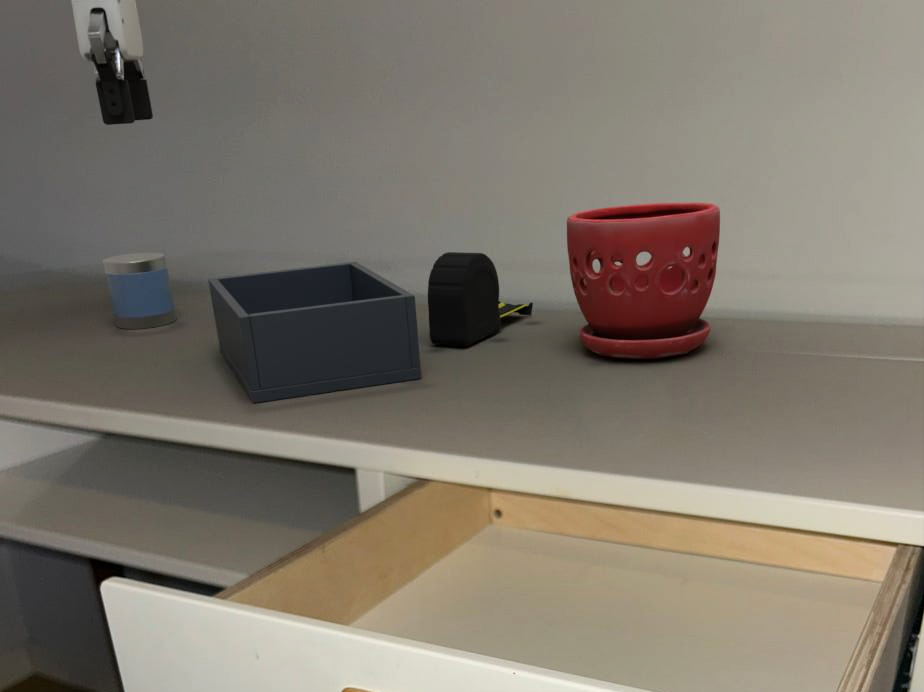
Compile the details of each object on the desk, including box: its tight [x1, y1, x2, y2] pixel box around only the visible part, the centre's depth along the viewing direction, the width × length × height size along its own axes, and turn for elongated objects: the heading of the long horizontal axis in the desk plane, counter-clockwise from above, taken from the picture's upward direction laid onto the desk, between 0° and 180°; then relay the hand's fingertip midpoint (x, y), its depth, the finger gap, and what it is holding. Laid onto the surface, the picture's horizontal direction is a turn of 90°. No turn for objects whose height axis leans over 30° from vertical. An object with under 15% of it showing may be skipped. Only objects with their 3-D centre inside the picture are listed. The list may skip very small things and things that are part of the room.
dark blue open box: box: [207, 261, 422, 404], centre depth 97 cm, size 15×21×7 cm
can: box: [102, 252, 177, 330], centre depth 119 cm, size 7×7×7 cm
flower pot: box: [566, 202, 721, 360], centre depth 94 cm, size 13×13×12 cm
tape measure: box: [427, 251, 534, 347], centre depth 105 cm, size 15×4×8 cm, turn 152°
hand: (129, 121), depth 117 cm, fingers open, 9 cm apart
